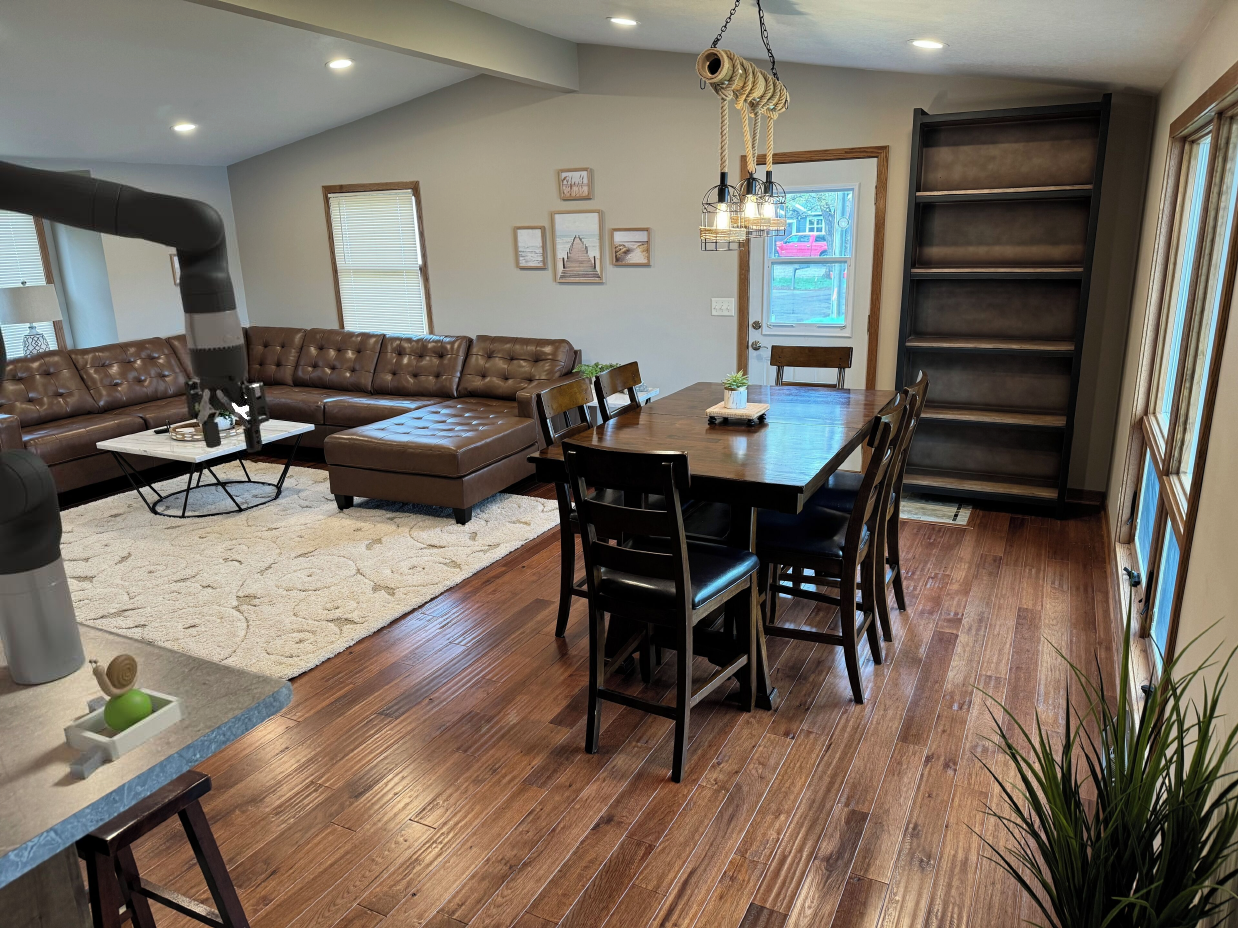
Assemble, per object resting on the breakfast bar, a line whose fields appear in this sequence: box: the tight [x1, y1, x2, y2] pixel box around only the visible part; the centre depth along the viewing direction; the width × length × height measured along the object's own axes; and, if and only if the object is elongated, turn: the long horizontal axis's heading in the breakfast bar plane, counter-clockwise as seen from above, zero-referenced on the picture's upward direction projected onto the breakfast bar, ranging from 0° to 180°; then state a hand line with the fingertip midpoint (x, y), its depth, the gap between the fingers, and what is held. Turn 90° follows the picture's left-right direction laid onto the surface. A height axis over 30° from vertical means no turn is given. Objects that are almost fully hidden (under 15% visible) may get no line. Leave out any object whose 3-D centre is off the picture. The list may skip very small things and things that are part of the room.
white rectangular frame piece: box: [63, 686, 188, 780], centre depth 109 cm, size 13×15×2 cm
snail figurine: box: [88, 653, 153, 733], centre depth 109 cm, size 5×6×12 cm
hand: (234, 448), depth 129 cm, fingers open, 8 cm apart
